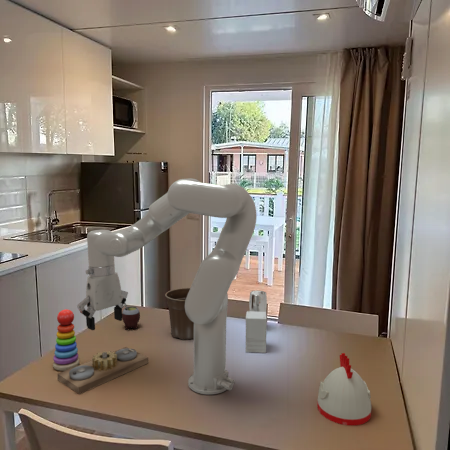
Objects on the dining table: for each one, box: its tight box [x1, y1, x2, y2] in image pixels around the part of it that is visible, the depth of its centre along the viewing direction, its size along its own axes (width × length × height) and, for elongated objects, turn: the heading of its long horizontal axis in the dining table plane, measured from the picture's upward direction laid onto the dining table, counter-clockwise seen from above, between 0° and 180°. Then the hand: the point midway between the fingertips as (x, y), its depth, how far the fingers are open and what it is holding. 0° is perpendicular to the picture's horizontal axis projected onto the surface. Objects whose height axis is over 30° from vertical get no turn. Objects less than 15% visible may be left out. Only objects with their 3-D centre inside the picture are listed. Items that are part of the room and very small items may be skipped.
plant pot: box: [164, 287, 194, 340], centre depth 159 cm, size 16×16×16 cm
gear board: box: [57, 346, 149, 395], centre depth 129 cm, size 12×25×6 cm, turn 140°
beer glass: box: [248, 289, 268, 313], centre depth 164 cm, size 7×7×15 cm
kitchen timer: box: [316, 352, 372, 426], centre depth 110 cm, size 14×14×15 cm
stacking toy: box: [52, 308, 80, 372], centre depth 132 cm, size 8×8×19 cm
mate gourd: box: [122, 302, 141, 331], centre depth 164 cm, size 8×8×15 cm
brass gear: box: [91, 350, 117, 371], centre depth 129 cm, size 7×7×3 cm
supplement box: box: [245, 310, 268, 354], centre depth 147 cm, size 7×7×13 cm
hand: (105, 324), depth 128 cm, fingers open, 9 cm apart
